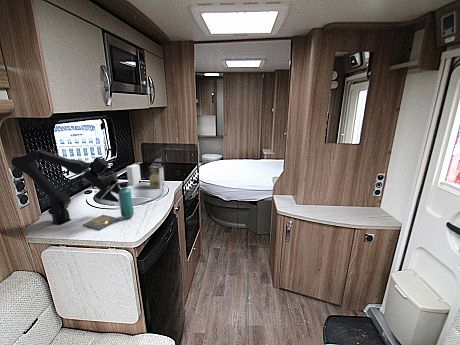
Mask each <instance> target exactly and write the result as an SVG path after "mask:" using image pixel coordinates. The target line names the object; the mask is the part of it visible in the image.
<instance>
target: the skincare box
mask: <svg viewBox="0 0 460 345" xmlns="http://www.w3.org/2000/svg"><path fill="white" fill-rule="evenodd" d="M125 169H126V175H127V181H128V182H127V183H128V186H136V185H138V184H140V183H139V181H141V182H142V178H141V176H142V175H141V168H140V164H134V163H133V164H131V165H128V166H126V168H125Z"/></svg>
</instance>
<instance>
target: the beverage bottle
mask: <svg viewBox="0 0 460 345" xmlns="http://www.w3.org/2000/svg"><path fill="white" fill-rule="evenodd" d="M119 188H120V190H119V191H118V193H119V194H118V200H119V208H120V214H121V217H122V218H130V217H132V216H134V214H135V211H134V203H133V198H132V190H131V189H130V188H129V184H128V182H127V181H123V182H119Z"/></svg>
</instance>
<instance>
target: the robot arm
mask: <svg viewBox="0 0 460 345" xmlns="http://www.w3.org/2000/svg"><path fill="white" fill-rule="evenodd" d="M37 160H41V161H43V162H47V163H49V164H53V165H56V166H59V167H62V168H65V170H67V171H68V172H70V173H72V174H74V175H79V181H80V182H82V181H83V180H86V181H87V182H88V183H90V184H91V186H92V188H97V189H98V190H99V191H98V192H97V193H96V194H95V198H96V199H97V200H98V201H100V200H101V201H102V200H103V201H110V202H114V203H118V202H119V203H120V201H119V198H117V197H116V196H115V195H114V194H116V195H119V193H118V191H119V190H120V189H121V188H120V182H119V176H118V173H116V171H114V170H113V171H110V172H109V173H108V175H107V176H105V175H100V174H103V172H104V171H105V170H106V169H107V168H108V167H109V165H110V164H109V162H108V161H107V160H106V159H103V158H101V157H99V156H96V157H95V158H94V159H93V161H92V162H86V161H84V160H79V159H70V158H66V157H63V156H60V155H58V154H54V153H52V152H49V151H45V150H44V149H37V150H33V151H32V152H30V153H25V154H24V153H23V154H20V155H16V156H14V157H12V158H11V165H12V166H13V168H15V169H16V170H18V171H19V172H21V173H24V174H25V175H27V176H28V177H29V178H30V179H31V180H32V182H34V184H35V185H37V187H38V188H39V189H41V191H42V192H44V194H45V195H46V196H47V197H48V201H49V204H50V205H51V207H50V208H49V209H48V210H47V213H48V214H49V215H51V217H52V221H51V224H53V225H56V226H61V225H63V224H65V223H68V222H70V221H71V220H72V218H70V212H69V211H68V208H69V205H71V201H72V200H71V196H70V195H69V194H67V191H65V190H64V191H62V192H61V191H60V190H58V189H57V188H56V187H55V186H54V185H53V183H51V182H50V180H49V179H48V178H47V177H46V176H45V175H44V173H43V172H41V170H40V169H38V166H37ZM82 173H83V174H82ZM113 193H114V194H113Z"/></svg>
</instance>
